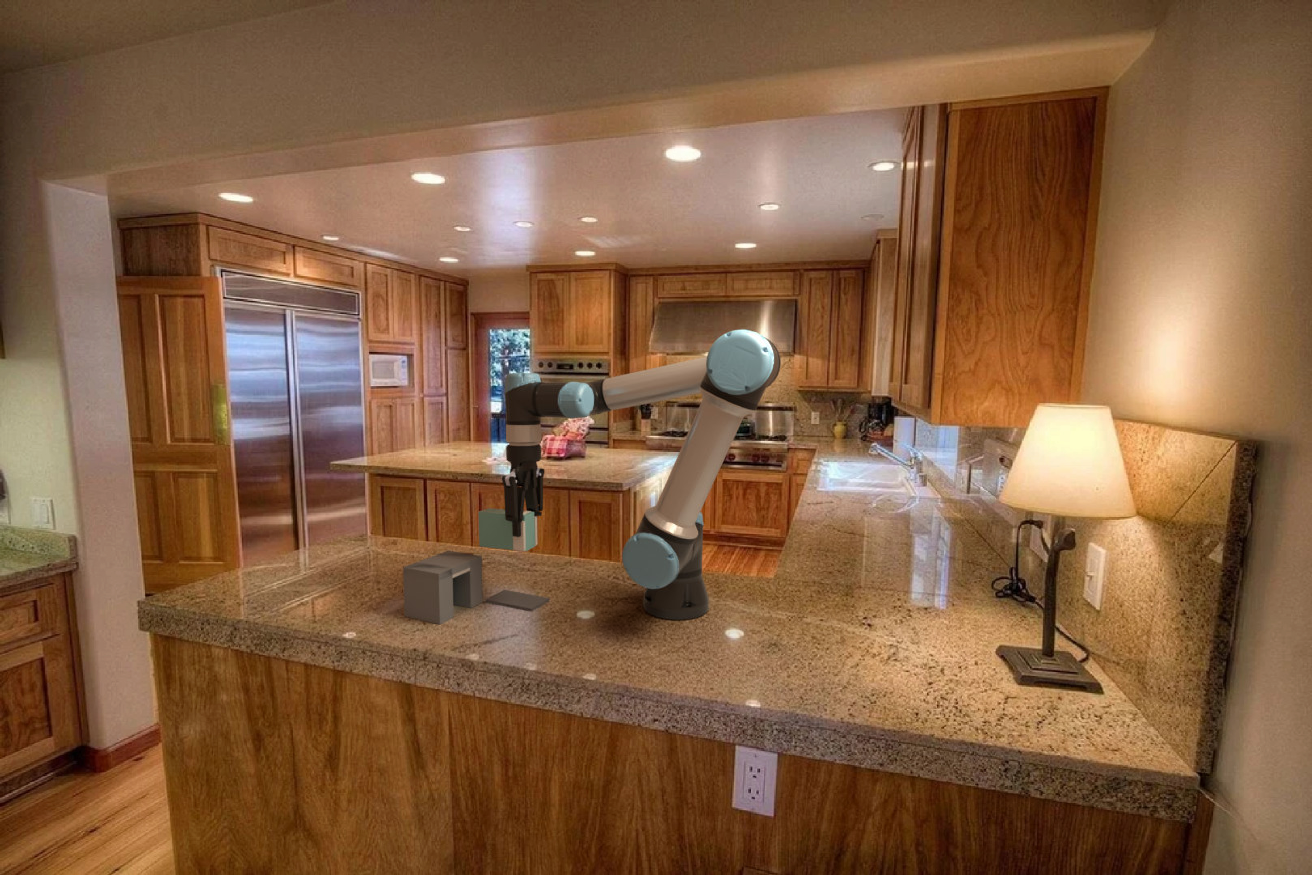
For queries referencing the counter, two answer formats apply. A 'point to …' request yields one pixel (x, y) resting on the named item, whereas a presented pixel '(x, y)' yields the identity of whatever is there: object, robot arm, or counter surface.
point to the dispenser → (442, 585)
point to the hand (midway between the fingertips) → (525, 547)
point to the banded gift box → (503, 529)
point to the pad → (517, 600)
